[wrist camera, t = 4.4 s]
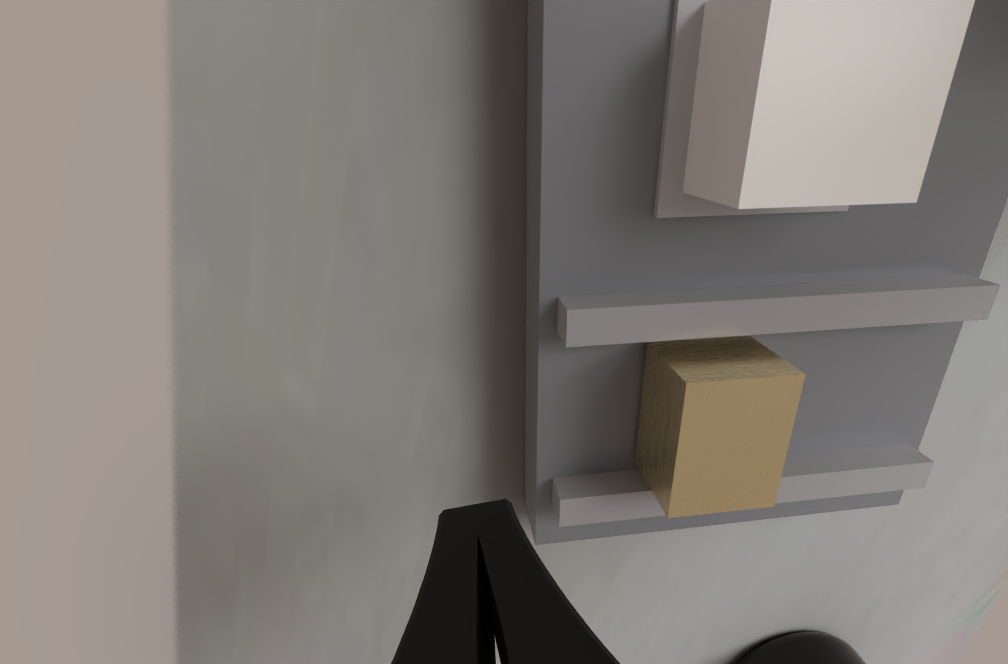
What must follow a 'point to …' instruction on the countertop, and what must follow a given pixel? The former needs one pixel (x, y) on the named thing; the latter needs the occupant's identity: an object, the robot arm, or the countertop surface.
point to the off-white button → (820, 99)
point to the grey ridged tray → (732, 272)
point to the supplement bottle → (803, 650)
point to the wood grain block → (715, 424)
